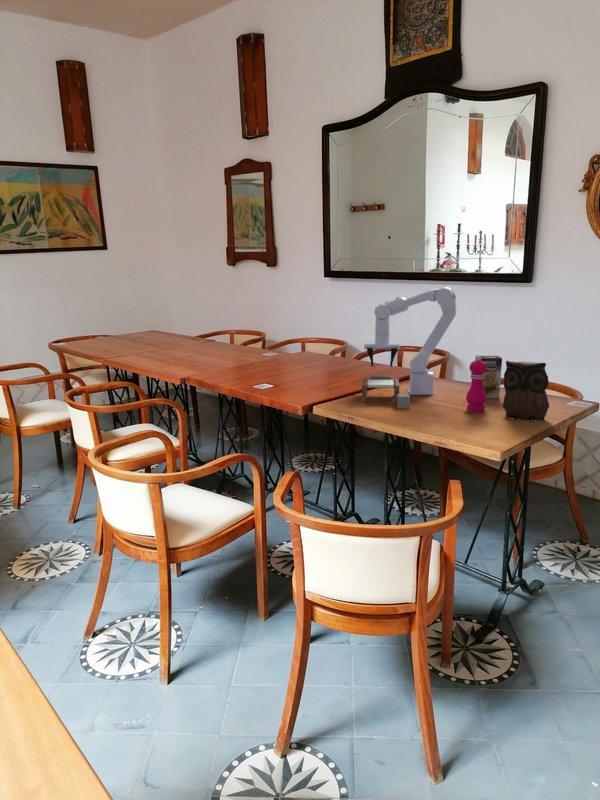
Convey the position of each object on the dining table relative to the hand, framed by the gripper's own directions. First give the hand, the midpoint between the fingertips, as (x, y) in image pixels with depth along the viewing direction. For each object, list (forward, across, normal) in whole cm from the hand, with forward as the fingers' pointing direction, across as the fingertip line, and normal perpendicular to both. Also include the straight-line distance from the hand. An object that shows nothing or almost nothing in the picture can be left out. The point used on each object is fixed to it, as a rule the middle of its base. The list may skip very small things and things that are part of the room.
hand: (381, 366), depth 238 cm
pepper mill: (+10, -34, +28) cm, 45 cm away
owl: (+10, -50, +35) cm, 62 cm away
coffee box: (+10, -41, +8) cm, 43 cm away
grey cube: (+10, -8, +24) cm, 28 cm away
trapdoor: (+4, 0, +13) cm, 14 cm away
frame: (+10, 0, +14) cm, 17 cm away
